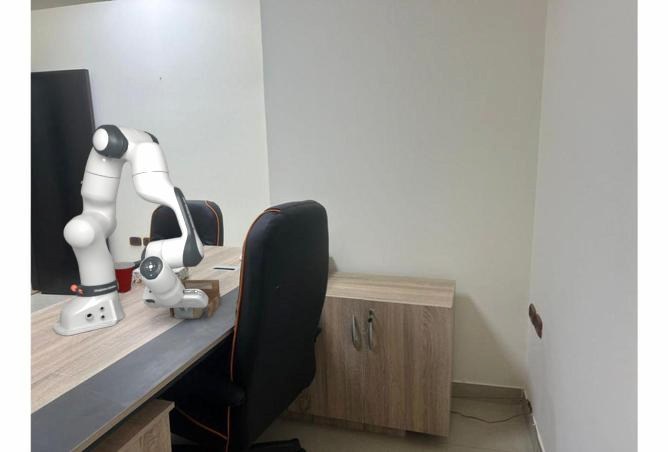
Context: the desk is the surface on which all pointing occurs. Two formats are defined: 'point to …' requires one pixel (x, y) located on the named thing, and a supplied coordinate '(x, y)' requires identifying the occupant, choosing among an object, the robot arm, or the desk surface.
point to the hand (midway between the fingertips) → (184, 309)
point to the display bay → (209, 289)
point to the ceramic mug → (189, 313)
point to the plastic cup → (124, 275)
